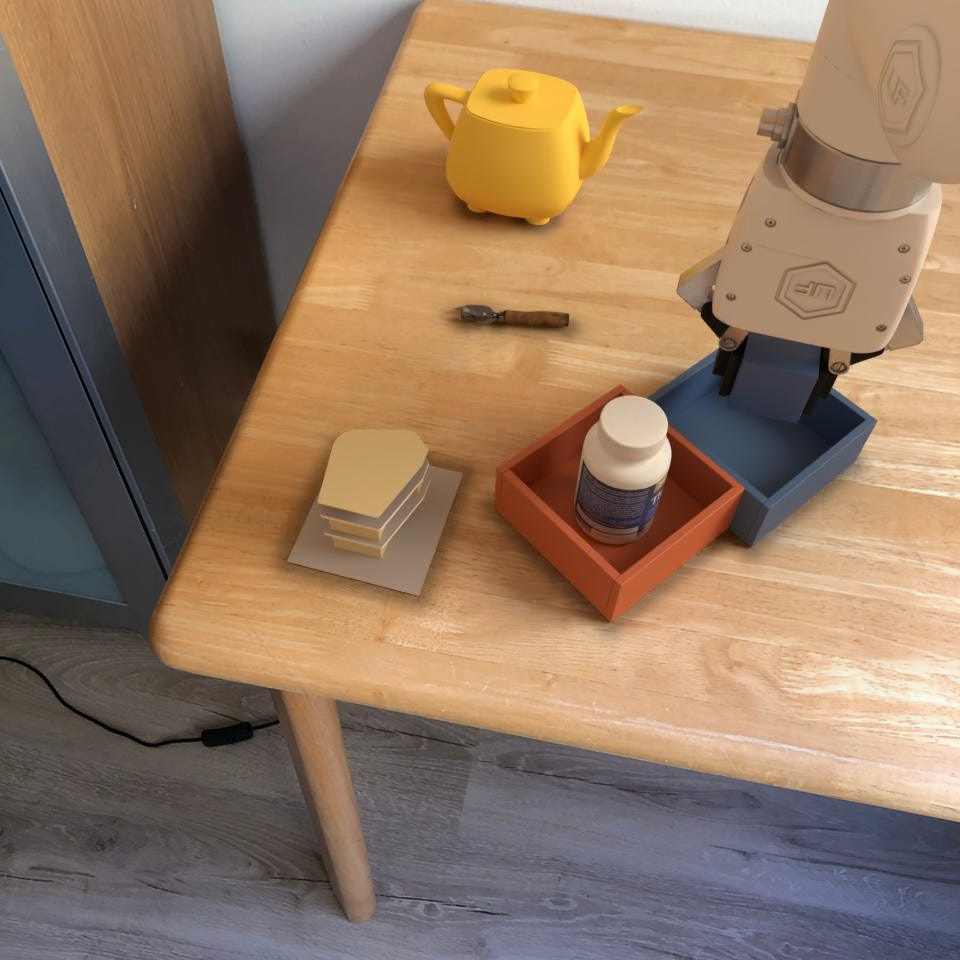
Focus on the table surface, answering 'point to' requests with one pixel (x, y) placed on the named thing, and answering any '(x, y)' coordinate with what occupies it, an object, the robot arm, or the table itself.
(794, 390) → the blue block
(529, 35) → the table surface
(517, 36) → the table surface
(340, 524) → the stacked layers on plate
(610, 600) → the terracotta bin
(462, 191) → the teapot
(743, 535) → the blue bin
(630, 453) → the pill bottle
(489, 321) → the can opener
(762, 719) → the table surface
